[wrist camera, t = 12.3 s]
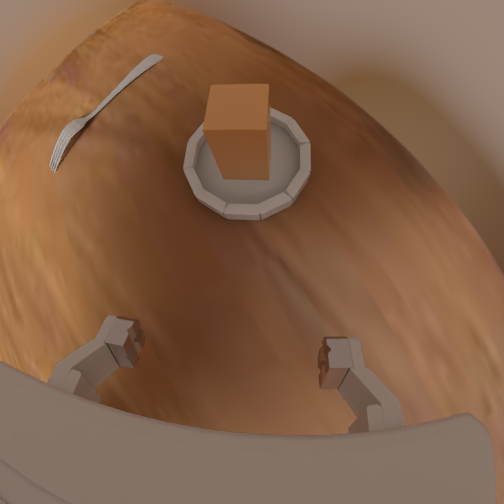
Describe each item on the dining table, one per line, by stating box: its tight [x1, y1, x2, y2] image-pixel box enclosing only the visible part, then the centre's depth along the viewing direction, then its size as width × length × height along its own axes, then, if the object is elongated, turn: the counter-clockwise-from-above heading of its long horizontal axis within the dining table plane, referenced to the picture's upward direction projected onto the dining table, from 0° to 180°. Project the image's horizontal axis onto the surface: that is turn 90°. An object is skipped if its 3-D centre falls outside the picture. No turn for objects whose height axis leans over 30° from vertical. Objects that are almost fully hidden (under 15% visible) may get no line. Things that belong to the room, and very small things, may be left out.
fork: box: [49, 54, 163, 173], centre depth 28 cm, size 3×21×3 cm, turn 141°
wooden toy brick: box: [202, 84, 271, 180], centre depth 21 cm, size 4×4×8 cm
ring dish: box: [183, 107, 311, 220], centre depth 24 cm, size 11×11×2 cm
